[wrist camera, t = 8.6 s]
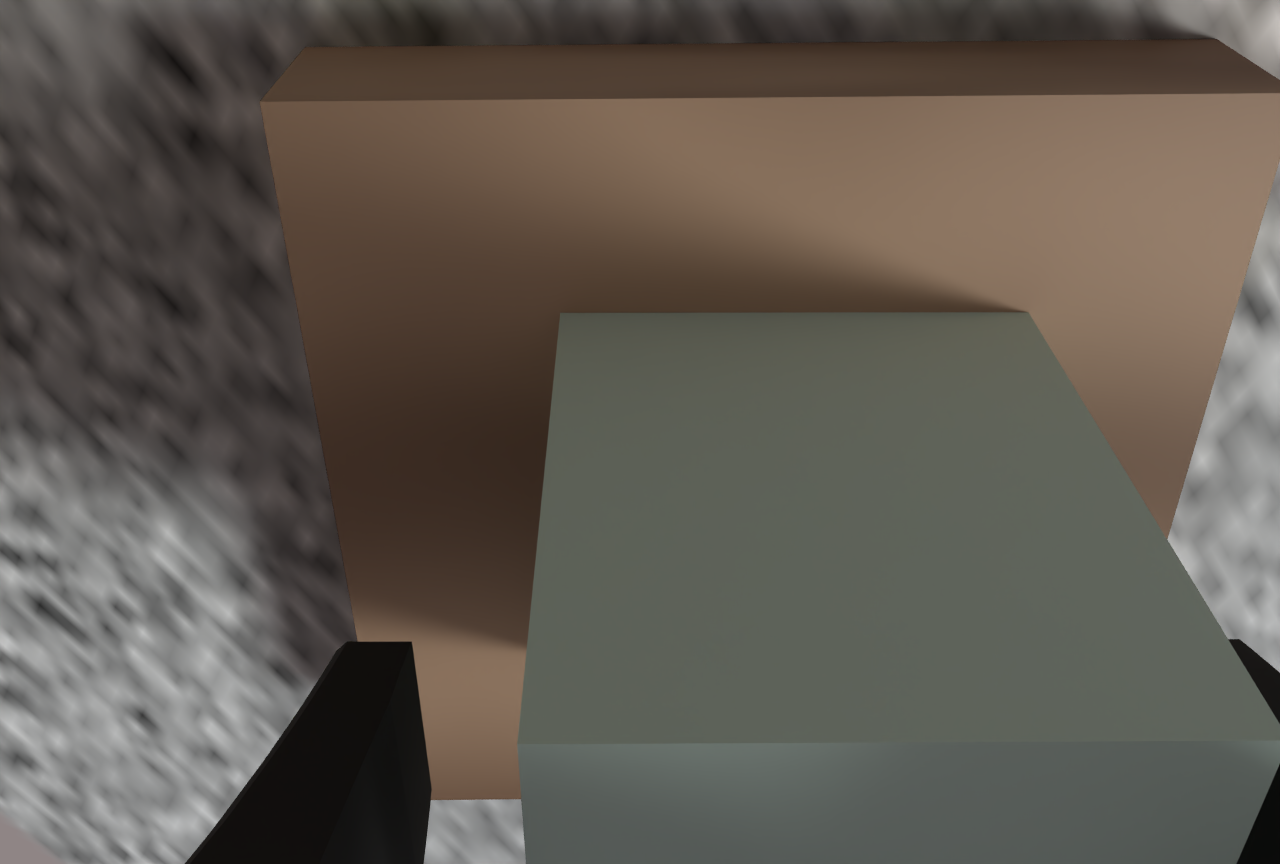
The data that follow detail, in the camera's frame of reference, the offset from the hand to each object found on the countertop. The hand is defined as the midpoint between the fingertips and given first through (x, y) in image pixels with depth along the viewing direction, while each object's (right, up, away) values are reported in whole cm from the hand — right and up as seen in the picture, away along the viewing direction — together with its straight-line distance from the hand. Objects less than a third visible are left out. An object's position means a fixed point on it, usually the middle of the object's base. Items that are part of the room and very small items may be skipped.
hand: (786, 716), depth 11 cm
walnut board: (0, +3, +5) cm, 6 cm away
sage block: (0, +2, +3) cm, 3 cm away
